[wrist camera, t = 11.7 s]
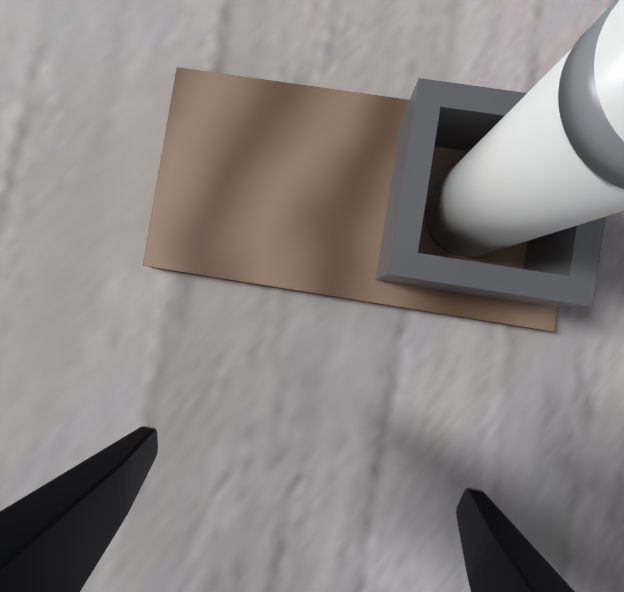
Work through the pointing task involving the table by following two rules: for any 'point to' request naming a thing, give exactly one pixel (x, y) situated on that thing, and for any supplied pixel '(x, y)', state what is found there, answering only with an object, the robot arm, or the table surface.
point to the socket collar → (412, 197)
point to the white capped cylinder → (543, 155)
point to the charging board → (297, 195)
